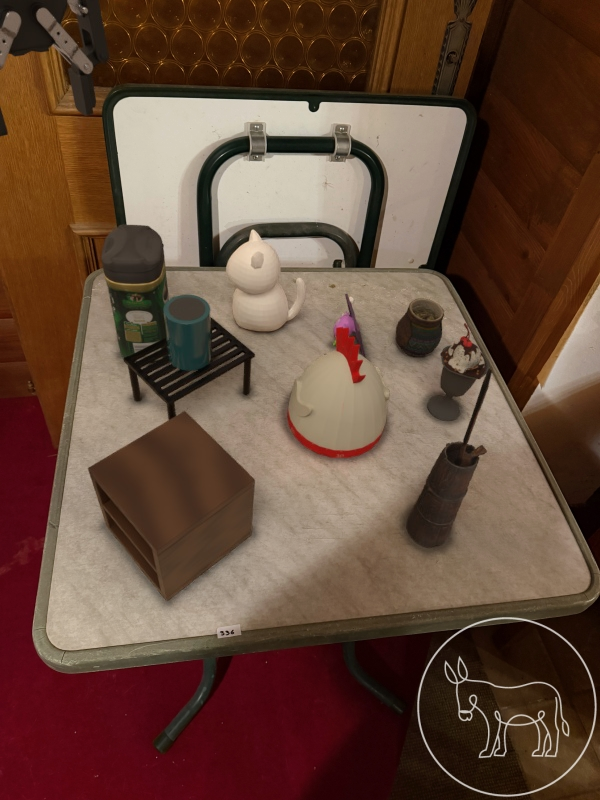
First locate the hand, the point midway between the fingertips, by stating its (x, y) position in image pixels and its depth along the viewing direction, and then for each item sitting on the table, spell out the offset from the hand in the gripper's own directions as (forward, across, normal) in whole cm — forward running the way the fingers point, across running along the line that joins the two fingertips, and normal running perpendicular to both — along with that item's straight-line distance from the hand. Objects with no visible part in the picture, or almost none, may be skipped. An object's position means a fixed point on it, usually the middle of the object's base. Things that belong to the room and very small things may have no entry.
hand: (43, 122), depth 53 cm
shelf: (+36, +6, +26) cm, 45 cm away
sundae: (+36, -35, +35) cm, 61 cm away
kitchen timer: (+36, -21, +26) cm, 49 cm away
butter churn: (+36, -18, +46) cm, 61 cm away
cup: (+28, -8, +10) cm, 31 cm away
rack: (+36, -8, +10) cm, 38 cm away
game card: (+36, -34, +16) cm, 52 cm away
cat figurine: (+36, -27, +4) cm, 45 cm away
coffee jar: (+36, -9, -3) cm, 38 cm away
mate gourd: (+36, -42, +24) cm, 60 cm away
